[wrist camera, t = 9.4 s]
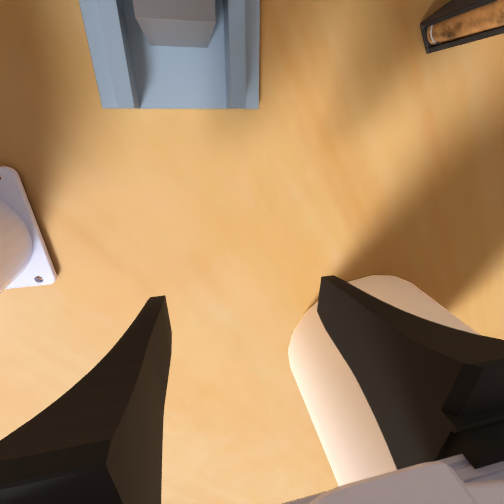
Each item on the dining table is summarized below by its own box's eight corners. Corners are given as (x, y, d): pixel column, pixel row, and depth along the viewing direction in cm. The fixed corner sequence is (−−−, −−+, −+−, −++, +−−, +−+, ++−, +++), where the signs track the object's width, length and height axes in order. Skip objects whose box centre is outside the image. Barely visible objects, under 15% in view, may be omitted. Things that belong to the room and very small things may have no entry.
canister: (424, 250, 26) (904, 528, 9) (424, 355, 34) (677, 612, 16) (269, 314, 26) (445, 746, 8) (306, 406, 33) (436, 726, 16)
